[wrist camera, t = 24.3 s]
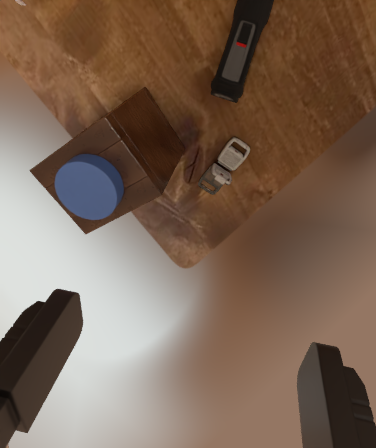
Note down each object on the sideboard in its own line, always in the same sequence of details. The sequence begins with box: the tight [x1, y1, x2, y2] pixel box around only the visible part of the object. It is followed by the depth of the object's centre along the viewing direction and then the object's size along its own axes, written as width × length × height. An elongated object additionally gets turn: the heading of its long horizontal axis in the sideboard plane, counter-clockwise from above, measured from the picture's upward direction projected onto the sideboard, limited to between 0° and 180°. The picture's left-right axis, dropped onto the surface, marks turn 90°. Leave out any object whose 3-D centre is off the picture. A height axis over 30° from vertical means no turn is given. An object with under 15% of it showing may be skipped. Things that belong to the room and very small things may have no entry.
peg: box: [55, 154, 124, 220], centre depth 36 cm, size 6×6×10 cm
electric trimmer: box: [211, 0, 274, 103], centre depth 34 cm, size 4×16×3 cm, turn 164°
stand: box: [30, 87, 185, 234], centre depth 39 cm, size 9×11×13 cm
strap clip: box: [198, 137, 250, 195], centre depth 43 cm, size 8×3×4 cm, turn 148°
